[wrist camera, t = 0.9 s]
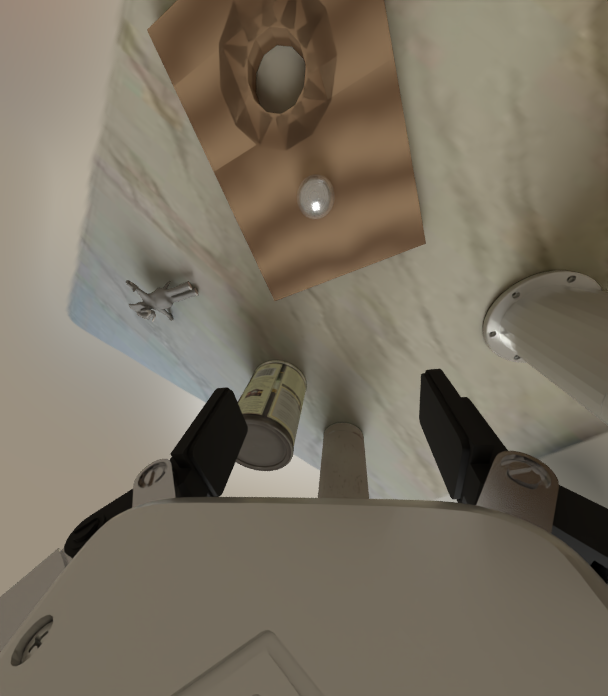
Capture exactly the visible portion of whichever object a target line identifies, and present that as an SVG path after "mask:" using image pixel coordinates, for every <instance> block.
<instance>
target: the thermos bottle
mask: <svg viewBox="0 0 608 696" xmlns="http://www.w3.org/2000/svg"><path fill="white" fill-rule="evenodd" d="M318 498H348V499H369V492H368V481H367V470H366V459H365V448H364V437H363V433H362V432H361V430H360V429H359V428H357V427H356V426H354V425H352V424H349V423H335V424H332V425H330V426H329V427H328V428H327V429H326V430H325V432H324V439H323V449H322V460H321V470H320V481H319V492H318Z"/></svg>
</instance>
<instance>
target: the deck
mask: <svg viewBox="0 0 608 696" xmlns="http://www.w3.org/2000/svg"><path fill="white" fill-rule="evenodd" d="M147 31H148V33H149V35H150V37H151V39H152V41H153V43H154V46H155V48H156V50H157V52H158V54H159V56H160V58H161V60H162V63H163V65H164V67H165V69H166V71H167V73H168V75H169V77H170V80H171V82H172V84H173V86H174V88H175V90H176V92H177V94H178V97H179V99H180V101H181V103H182V105H183V107H184V109H185V111H186V114H187V116H188V118H189V120H190V122H191V124H192V126H193V128H194V131H195V133H196V135H197V137H198V139H199V141H200V143H201V145H202V148H203V150H204V152H205V154H206V156H207V158H208V160H209V162H210V165H211V167H212V169H213V171H214V173H215V175H216V177H217V179H218V182H219V184H220V186H221V188H222V190H223V192H224V194H225V196H226V199H227V201H228V203H229V205H230V207H231V209H232V211H233V213H234V216H235V218H236V220H237V222H238V224H239V226H240V228H241V230H242V233H243V235H244V237H245V239H246V241H247V243H248V245H249V247H250V250H251V252H252V254H253V256H254V258H255V260H256V262H257V264H258V267H259V269H260V271H261V273H262V275H263V277H264V279H265V282H266V284H267V286H268V288H269V290H270V292H271V294H272V296H273V299H274V301H276V300H279V299H282V298H284V297H287V296H290V295H292V294H295V293H297V292H300V291H303V290H305V289H308V288H311V287H313V286H316V285H318V284H321V283H324V282H326V281H329V280H331V279H334V278H337V277H339V276H342V275H345V274H347V273H350V272H352V271H355V270H358V269H360V268H363V267H366V266H368V265H371V264H373V263H376V262H379V261H381V260H384V259H387V258H389V257H392V256H394V255H397V254H400V253H402V252H405V251H408V250H410V249H413V248H415V247H418V246H421V245H423V244H426V241H425V235H424V230H423V224H422V218H421V212H420V206H419V201H418V195H417V189H416V183H415V177H414V172H413V166H412V160H411V154H410V148H409V143H408V137H407V131H406V125H405V119H404V114H403V108H402V102H401V96H400V90H399V84H398V79H397V73H396V67H395V61H394V55H393V50H392V44H391V38H390V32H389V26H388V21H387V15H386V9H385V3H384V0H177V1H176V2H175V3H174V4H173V5H172V6H171V7H170V8H169V9H168V10H167V11H166V12H165V13H164V14H163V15H162V16H161V17H160V18H159V19H158V20H157V21H156V22H155V23H154V24H153V25H152V26H151V27H150V28H148V29H147ZM276 45H281V46H292V47H293V48H294V49H295V50H296V51H297V52H298V54H299V55H300V56H301V57H302V58H303V59H304V61H305V65H306V70H305V81H304V88H303V90H302V92H301V94H300V96H299V98H298V100H297V102H296V104H295V105H294V106H293V107H291V108H290V109H288V110H287V111H285V112H284V113H282V114H277V113H269V112H266V111H265V110H264V109H263V108H262V107H261V106H260V103H259V100H258V98H257V95H256V73H257V70H258V68H259V65H260V63H261V61H262V58H263V56H264V55H265V54H266V53H267V52H269V51H270V50H271V49H272V48H274V47H275V46H276ZM313 174H319V175H322V176H324V177H326V178H327V179H328V180H329V181H330V182H331V184H332V186H333V188H334V193H335V199H334V204H333V207H332V209H331V210H330V212H329V213H328V214H327V215H326V216H324V217H323V218H320V219H310V218H308V217H306V216H305V215H304V214H303V213H302V212H301V211H300V209H299V207H298V203H297V192H298V188H299V186H300V184H301V182H302V181H303V180H304V179H305V178H306V177H308V176H310V175H313Z"/></svg>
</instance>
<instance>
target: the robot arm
mask: <svg viewBox="0 0 608 696" xmlns="http://www.w3.org/2000/svg"><path fill="white" fill-rule="evenodd" d="M483 336H484V340H485V342H486V344H487V345H488V347H489V348H490V349H491V350H492V351H493V352H494V353H495V354H497V355H498V356H500V357H502V358H504V359H506V360H509V361H513V362H527V363H528V364H530V365H531V366H532V367H533V368H535V369H536V370H537V371H539V372H540V373H541V374H542V375H544V376H545V377H546V378H548V379H549V380H550V381H551V382H553V383H554V384H555V385H557V386H558V387H559V388H560V389H562V390H563V391H564V392H566V393H567V394H568V395H569V396H571V397H572V398H573V399H575V400H576V401H577V402H578V403H580V404H581V405H582V406H584V407H585V408H586V409H587V410H589V411H590V412H591V413H593V414H594V415H595V416H596V417H598V418H599V419H600V420H602V421H603V422H604V423H605V424H607V425H608V293H607V292H604V291H603V290H602V288H601V286H600V285H599V284H598V283H597V282H596V281H595V280H594V279H592V278H591V277H589V276H587V275H584V274H581V273H578V272H572V271H567V270H555V271H548V272H543V273H539V274H536V275H533V276H530V277H528V278H526V279H524V280H521V281H520V282H518V283H516V284H515V285H513V286H511V287H510V288H509V289H507V290H506V291H505V292H504V293H503V294H501V295H500V296H499V298H498V299H497V300H496V301H495V302H494V303H493V305H492V306H491V308H490V309H489V310H488V312H487V315H486V317H485V319H484V324H483ZM419 420H420V424H421V427H422V429H423V432H424V434H425V436H426V439H427V441H428V444H429V446H430V449H431V451H432V453H433V456H434V458H435V461H436V463H437V466H438V468H439V470H440V473H441V475H442V478H443V480H444V482H445V485H446V487H447V490H448V492H449V494H450V497H451V498H452V499H457V501H458V503H454V502H443V501H425V500H397V499H348V498H279V497H278V498H277V497H219V496H220V495H222V493H223V491H224V488H225V486H226V483H227V481H228V478H229V476H230V474H231V471H232V469H233V466H234V464H235V462H236V459H237V457H238V454H239V452H240V449H241V447H242V445H243V442H244V440H245V437H246V435H247V432H248V426H247V423H246V421H245V419H244V416H243V414H242V412H241V409H240V407H239V405H238V402H237V400H236V398H235V395H234V393H233V391H232V390H230V389H229V388H217V389H216V390H215V391H214V393H213V394H212V395H211V397H210V398H209V400H208V401H207V403H206V404H205V405H204V407H203V409H202V410H201V411H200V413H199V414H198V416H197V417H196V418H195V420H194V421H193V422H192V424H191V425H190V427H189V428H188V430H187V431H186V432H185V434H184V435H183V437H182V438H181V440H180V441H179V442H178V444H177V445H176V447H175V448H174V450H173V451H172V452H171V456H172V457H171V459H170V460H168V459H160V460H157V461H155V462H152V463H151V464H149V465H148V466H146V467H145V468H144V469H143V470H142V471H141V472H140V473H139V475H138V476H137V478H136V479H135V482H134V486H133V489H132V490H130V491H128V492H127V493H125V494H124V495H122V496H121V497H119V498H118V499H116V500H114V501H113V502H111V503H109V504H108V505H106V506H105V507H103V508H102V509H100V510H98V511H97V512H95V513H94V514H92V515H90V516H89V517H88V518H86V519H85V520H84V521H82V522H81V523H80V524H79V525H78V526H77V527H76V528H75V529H74V531H73V532H72V533H71V534H70V536H69V537H68V539H67V541H66V544H65V546H64V549H62V550H60V549H59V548H58V549H57V550H56V551H55V552H54V553H52V554H51V555H50V556H48V557H47V558H46V559H45V560H44V561H43V562H41V563H40V564H39V565H38V566H37V567H35V568H34V569H33V570H32V571H31V572H30V573H28V574H27V575H26V576H25V577H23V578H22V579H21V580H20V581H19V582H17V584H15V585H14V586H13V587H12V588H10V589H9V590H8V591H7V592H6V593H4V594H3V595H2V596H1V597H0V696H608V509H607V508H605V507H603V506H601V505H599V504H597V503H595V502H593V501H591V500H588V499H587V498H585V497H583V496H581V495H578V494H577V493H574V492H573V491H570V490H568V489H566V488H564V487H562V486H560V485H559V482H558V479H557V477H556V475H555V474H554V472H553V471H552V470H551V469H550V468H549V467H548V466H547V465H546V464H544V463H543V462H542V461H540V460H539V459H537V458H535V457H533V456H531V455H528V454H525V453H522V452H518V451H508V450H507V449H506V447H505V446H504V445H503V443H502V442H501V441H500V439H499V438H498V437H497V435H496V434H495V433H494V431H493V430H492V429H491V427H490V426H489V425H488V423H487V422H486V421H485V419H484V418H483V417H482V415H481V414H480V412H479V411H478V410H477V408H476V407H475V406H474V404H473V403H472V402H471V400H470V399H469V398H467V397H460V395H459V394H458V392H457V391H456V390H455V388H454V387H453V385H452V384H451V382H450V381H449V380H448V378H447V377H446V375H445V374H444V373H443V371H442V370H441V369H431V370H426V372H425V373H423V374H421V390H420V411H419Z"/></svg>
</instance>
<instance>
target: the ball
mask: <svg viewBox="0 0 608 696" xmlns="http://www.w3.org/2000/svg"><path fill="white" fill-rule="evenodd" d="M334 199H335V193H334V188H333V186H332V184H331V182H330V181H329V180H328V179H327V178H326V177H324V176H322V175H319V174H313V175H310V176H308V177H306V178H305V179H304V180H303V181H302V182H301V184H300V186H299V188H298V192H297V203H298V207H299V209H300V211H301V212H302V213H303V214H304V215H305V216H306V217H308V218H310V219H320V218H323V217H324V216H326V215H327V214H328V213H329V212H330V210H331V209H332V207H333V204H334Z"/></svg>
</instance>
